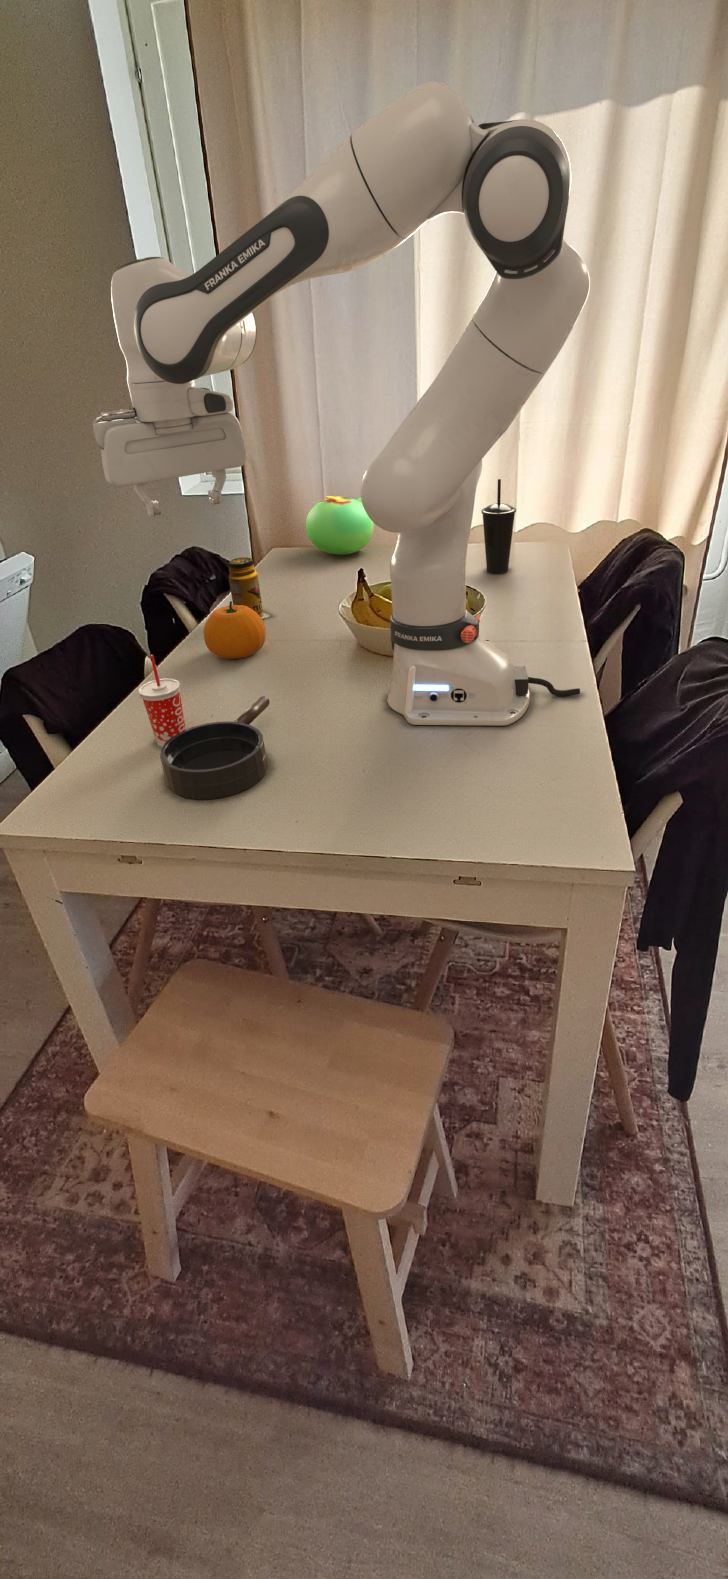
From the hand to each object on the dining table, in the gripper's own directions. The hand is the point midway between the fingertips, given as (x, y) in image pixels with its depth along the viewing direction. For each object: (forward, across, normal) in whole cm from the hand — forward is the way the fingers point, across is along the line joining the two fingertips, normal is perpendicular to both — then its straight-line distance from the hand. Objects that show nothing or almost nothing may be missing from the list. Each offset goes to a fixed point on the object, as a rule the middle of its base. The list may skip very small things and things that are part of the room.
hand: (186, 509), depth 112 cm
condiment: (+31, +19, +37) cm, 52 cm away
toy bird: (+31, +58, +66) cm, 93 cm away
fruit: (+31, +10, +19) cm, 38 cm away
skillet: (+31, -9, -22) cm, 39 cm away
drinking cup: (+31, +78, +26) cm, 87 cm away
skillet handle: (+28, 0, -14) cm, 32 cm away
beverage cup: (+31, -11, -8) cm, 34 cm away
